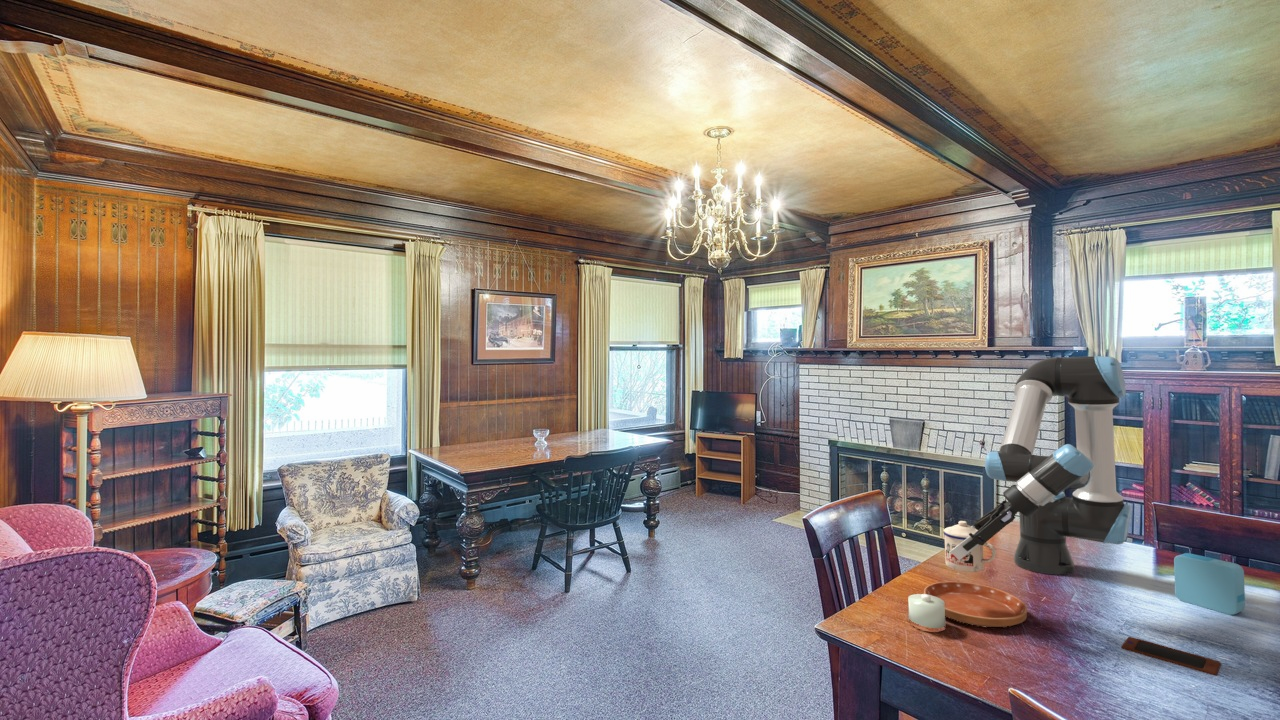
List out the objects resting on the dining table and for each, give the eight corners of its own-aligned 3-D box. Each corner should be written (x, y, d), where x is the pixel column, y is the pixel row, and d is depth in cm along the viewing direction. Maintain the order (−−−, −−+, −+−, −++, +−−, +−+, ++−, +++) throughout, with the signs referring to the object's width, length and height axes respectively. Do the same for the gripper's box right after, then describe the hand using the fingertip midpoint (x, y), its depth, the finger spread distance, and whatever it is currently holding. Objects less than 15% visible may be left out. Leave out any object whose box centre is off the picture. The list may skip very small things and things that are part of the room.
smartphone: (1128, 635, 130) (1221, 660, 118) (1128, 639, 130) (1221, 665, 118) (1120, 645, 126) (1216, 673, 114) (1120, 650, 126) (1216, 678, 114)
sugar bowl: (911, 615, 145) (910, 586, 145) (946, 622, 140) (946, 593, 140) (906, 627, 138) (905, 598, 138) (943, 635, 134) (942, 605, 134)
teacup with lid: (938, 566, 147) (936, 521, 147) (953, 558, 153) (951, 515, 153) (989, 578, 138) (988, 531, 138) (1003, 569, 144) (1001, 523, 144)
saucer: (1018, 601, 152) (1017, 587, 152) (1036, 640, 131) (1035, 624, 131) (922, 589, 161) (922, 576, 161) (925, 623, 140) (925, 608, 140)
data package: (1245, 613, 140) (1244, 565, 141) (1237, 617, 139) (1235, 568, 139) (1183, 596, 151) (1182, 551, 151) (1174, 599, 150) (1173, 553, 150)
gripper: (1043, 517, 129) (965, 575, 137) (1039, 497, 147) (970, 549, 155) (1015, 492, 132) (940, 550, 140) (1014, 475, 150) (947, 528, 158)
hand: (956, 550), depth 148 cm, fingers closed on teacup with lid, 9 cm apart
